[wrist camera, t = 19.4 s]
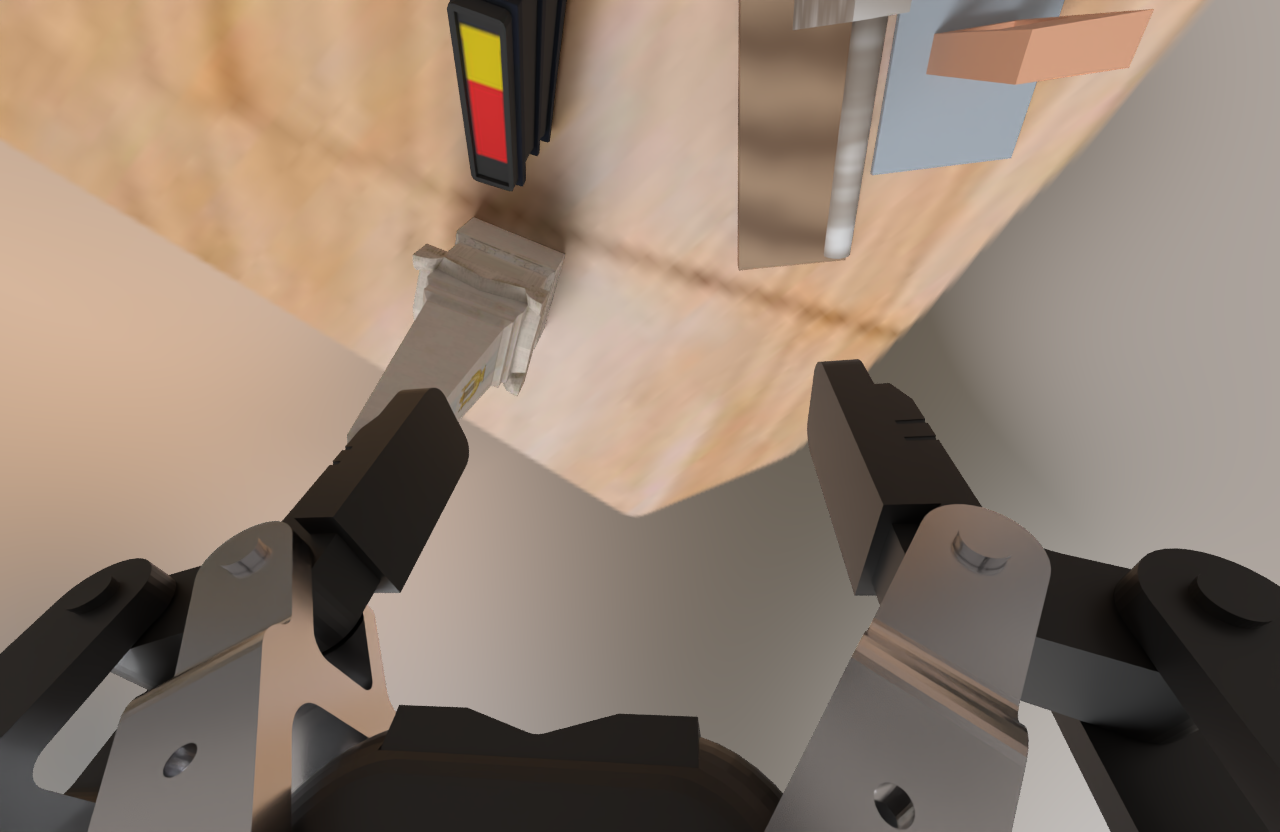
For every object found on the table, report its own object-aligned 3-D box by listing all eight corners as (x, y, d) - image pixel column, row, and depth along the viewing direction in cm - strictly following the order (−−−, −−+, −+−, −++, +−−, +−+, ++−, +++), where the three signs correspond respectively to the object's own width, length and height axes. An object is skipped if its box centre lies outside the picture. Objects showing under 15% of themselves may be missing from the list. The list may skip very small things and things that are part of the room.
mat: (915, -94, 30) (918, -95, 29) (1103, -131, 28) (1109, -134, 28) (870, 173, 40) (872, 175, 39) (1007, 156, 38) (1010, 158, 38)
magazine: (580, -100, 30) (511, 16, 23) (567, 102, 41) (519, 216, 35) (523, -122, 29) (437, -10, 23) (527, 89, 41) (471, 201, 35)
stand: (738, -38, 32) (776, -95, 19) (888, -67, 31) (1037, -149, 18) (737, 264, 46) (758, 351, 33) (840, 254, 44) (905, 340, 31)
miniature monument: (546, 334, 53) (439, 559, 30) (457, 301, 51) (268, 514, 28) (570, 252, 46) (458, 457, 23) (469, 210, 44) (237, 389, 21)
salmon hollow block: (934, 34, 33) (1032, 29, 24) (1018, 19, 32) (1154, 9, 23) (926, 74, 35) (1015, 84, 25) (1005, 61, 34) (1128, 67, 25)
